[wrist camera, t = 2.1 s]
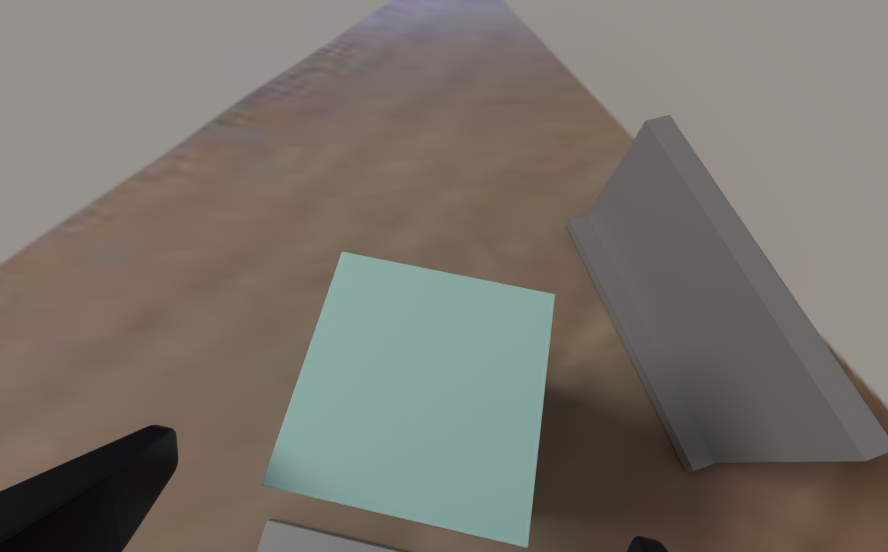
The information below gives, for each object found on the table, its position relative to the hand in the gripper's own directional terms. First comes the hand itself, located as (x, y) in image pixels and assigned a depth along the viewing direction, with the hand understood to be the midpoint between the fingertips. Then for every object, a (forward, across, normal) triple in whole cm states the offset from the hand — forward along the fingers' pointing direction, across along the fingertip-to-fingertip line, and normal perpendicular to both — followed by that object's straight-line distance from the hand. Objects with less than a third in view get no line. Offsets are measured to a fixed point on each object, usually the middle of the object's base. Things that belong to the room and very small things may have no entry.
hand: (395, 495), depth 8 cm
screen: (+13, -9, +1) cm, 16 cm away
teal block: (+8, 0, +5) cm, 10 cm away
